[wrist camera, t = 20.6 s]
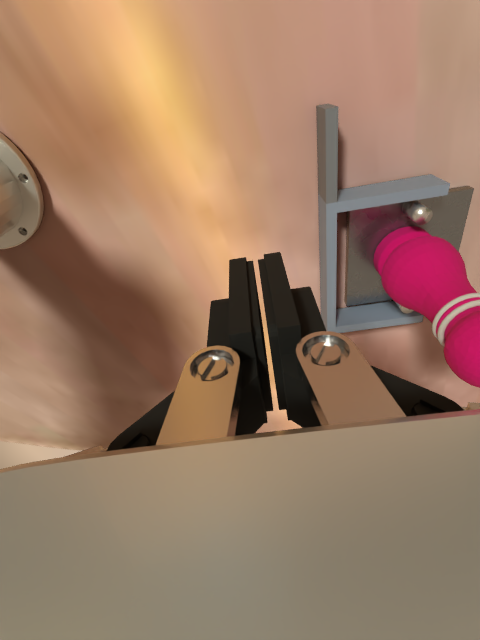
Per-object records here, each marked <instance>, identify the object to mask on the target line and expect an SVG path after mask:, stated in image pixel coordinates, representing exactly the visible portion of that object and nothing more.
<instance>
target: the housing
mask: <svg viewBox="0 0 480 640" xmlns="http://www.w3.org/2000/svg"><path fill="white" fill-rule="evenodd" d="M316 109H317V157H318V204H319V251H320V299H321V317H322V320H323V323H324V325H325V328H326V331H331V332H336V333H344V332H351V331H359V330H366V329H373V328H381V327H388V326H396V325H403V324H410V323H418V322H422V321H423V316H424V315H422V314H421V313H419V312H416V311H412V312H411V313H403V312H402V311H401V309H400V308H399V307H398V305H397V304H396V303H395V301H390V302H383V303H376V304H369V305H362V306H354V307H347V308H340V309H336V262H337V213H339V212H346V211H352V210H358V209H364V208H370V207H376V206H383V205H389V204H395V203H401V202H407V201H413V200H420V199H426V198H432V197H438V196H444V195H448V191H449V186H450V183H448V182H446V181H444V180H442V179H440V178H438V177H436V176H434V175H432V174H430V175H424V176H418V177H412V178H406V179H400V180H394V181H388V182H382V183H376V184H370V185H364V186H358V187H352V188H346V189H340V190H337V174H338V107H337V106H334V105H331V104H324V105H318V106H316Z"/></svg>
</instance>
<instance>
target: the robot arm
mask: <svg viewBox="0 0 480 640" xmlns="http://www.w3.org/2000/svg"><path fill="white" fill-rule="evenodd" d="M26 176H27V177H28V178H27V177H26ZM43 211H44V203H43V194H42V191H41V187H40V183H39V181H38V179H37V177H36V174H35V172H34V170H33V169H32V167H31V166H30V164H29V162H28V161H27V159H26V158H25V157H24V155H23V154H22V153H21V152H20V151H19V149H18V148H17V147H16V146H15V145H14V144H13V143H12V142H11V141H10V140H9V139H8V138H7V137H5V136H4V135H3V134H2V133H1V132H0V249H8V248H12V247H16V246H18V245H20V244H22V243H23V242H25V241H26V240H28V239H29V238H30V237H31V236H32V235H33V234H34V233H35V232H36V230H37V229H38V228H39V225H40V223H41V221H42V217H43ZM258 264H259V271H260V278H261V285H262V292H263V299H264V306H265V313H266V321H267V328H268V335H269V342H270V349H271V356H272V363H273V370H274V377H275V384H276V391H277V398H278V405H279V410H283V409H286V410H287V417H288V420H292V421H293V422H295V423H297V424H298V425H300V426H301V427H302V428H300V429H291V430H282V431H273V432H264V433H256V431H257V430H258V429H259V428H260V427H261V426H262V425H263V424H264V423H267V413H266V411H273V404H272V396H271V388H270V380H269V372H268V364H267V356H266V348H265V340H264V332H263V325H262V318H261V312H260V305H259V299H258V292H257V285H256V279H255V272H254V265H253V261H246V257H245V258H238V259H232V260H230V261H229V298H228V299H221V300H214V301H211V307H210V318H209V329H208V340H207V347H206V348H203V349H201V350H199V351H197V352H196V353H194V354H193V355H192V356H191V357H190V358H189V359H188V360H187V362H186V363H185V365H184V368H183V371H182V373H181V376H180V379H179V382H178V384H177V387H176V390H175V391H174V392H173V393H171V394H170V395H169V396H168V397H166V398H165V399H164V400H163V401H161V402H160V403H159V404H158V405H156V406H155V407H154V408H153V409H151V410H150V411H149V412H148V413H146V414H145V415H144V416H143V417H141V418H140V419H139V420H138V421H136V422H135V423H134V424H133V425H131V426H130V427H129V428H127V429H126V430H125V431H124V432H122V433H121V434H120V435H119V436H118V437H117V438H116V439H115V440H114V441H113V442H112V443H111V444H110V446H109V447H108V448H105V449H104V448H103V447H102V445H99V446H96V447H93V448H90V449H87V450H84V451H81V452H78V453H74V454H72V455H69V456H65V457H61V458H55V459H49V460H43V461H37V462H31V463H26V464H20V465H16V466H12V467H8V468H4V469H0V640H480V403H470V402H468V405H467V407H460V406H459V405H458V404H457V403H455V402H454V401H452V400H450V399H448V398H446V397H444V396H442V395H439V394H437V393H435V392H432V391H430V390H428V389H425V388H423V387H420V386H418V385H416V384H413V383H411V382H409V381H406V380H404V379H401V378H399V377H397V376H394V375H392V374H390V373H387V372H385V371H382V370H380V369H378V368H375V367H373V366H371V365H369V363H368V362H367V361H366V359H365V358H364V356H363V355H362V354H361V352H360V351H359V349H358V348H357V347H356V345H355V344H354V343H353V342H352V341H351V340H350V339H349V338H348V337H346V336H344V335H343V334H340V333H336V332H331V331H326V328H325V325H324V323H323V320H322V317H321V315H320V312H319V309H318V306H317V304H316V301H315V298H314V296H313V293H312V290H311V288H310V287H303V288H296V289H290V285H289V282H288V278H287V275H286V271H285V267H284V264H283V260H282V256H281V253H280V252H277V253H270V254H264V259H260V260H258Z"/></svg>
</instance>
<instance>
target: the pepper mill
mask: <svg viewBox="0 0 480 640" xmlns="http://www.w3.org/2000/svg"><path fill="white" fill-rule="evenodd" d="M373 262H374V267H375V269H376V271H377V272H378V273H379V275H380V276H381V281H382V285H383V288H384V290H385V292H386V293H387V294H388V295H389V296H390V297H391V298H392V299H393V300H394V301H395V302H396V303H398V304H400V305H401V306H403V307H405V308H408V309H411V310H414V311H416V312H419V313H421V314H422V315H424V316H425V317H426V318H427V319H428V320H430V321H431V322H432V332H433V334H434V336H435V337H436V338H437V339H438V340H439V342H440V344H441V345H442V346H443V347H444V356H445V359H446V362H447V364H448V365H449V367H450V368H451V369H452V371H453V372H454V373H455V374H456V375H457V376H458V377H459V378H461V379H462V380H464V381H465V382H467V383H469V384H470V385H473V386H476V387H480V293H477V292H476V291H475V290H474V288H473V287H472V286H471V285H470V283H469V281H468V279H467V275H466V269H465V264H464V261H463V259H462V257H461V255H460V253H459V252H458V251H457V250H456V249H455V247H454V246H453V245H452V244H451V243H449V242H448V241H446V240H445V239H442V238H439V237H436V236H431V235H430V234H429V233H428V232H426V231H425V230H424V229H422V228H419V227H412V226H408V227H403V228H399V229H397V230H395V231H393V232H391V233H389V234H388V235H387V236H386V237H385V238H384V239H382V241H381V242H380V243H379V245H378V246H377V248H376V250H375V253H374V259H373Z"/></svg>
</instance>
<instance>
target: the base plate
mask: <svg viewBox="0 0 480 640" xmlns="http://www.w3.org/2000/svg"><path fill="white" fill-rule="evenodd" d="M473 190H474V188H472V187H470V186H464V187H457V188H451V189H449V191H448V195H444V196H438V197H432V198H426V199H420V200H413V201H407V202H401V203H395V204H389V205H383V206H376V207H370V208H364V209H358V210H352V211H347V233H346V267H345V304H346V306H351V305H359V304H366V303H373V302H380V301H387V300H393V299H392V298H391V297H390V296H389V295H388V294H387V293H386V292H385V290H384V288H383V285H382V281H381V276H380V275H379V273H378V272H377V271H376V269H375V267H374V262H373V259H374V253H375V250H376V248H377V246H378V245H379V243H380V242H381V241H382V239H384V238H385V237H386V236H387V235H388V234H389V233H391V232H393V231H395V230H397V229H399V228H403V227H408V226H412V227H419V228H422V229H424V230H425V231H426V232H428V233H429V234H430V235H431V236H436V237H439V238H442V239H445V240H446V241H448V242H449V243H451V244H452V245H453V246H454V247H455V249H456V250H457V251H458V252H459V247H460V243H461V239H462V235H463V231H464V227H465V223H466V219H467V215H468V210H469V206H470V202H471V198H472V194H473ZM395 303H396V302H395ZM396 304H397V305H398V307H399V308H400V309H401V311H402V312H403V313H411V312H412V311H414V310H411V309H408V308H405V307H403V306H401V305H400V304H398V303H396Z"/></svg>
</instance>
